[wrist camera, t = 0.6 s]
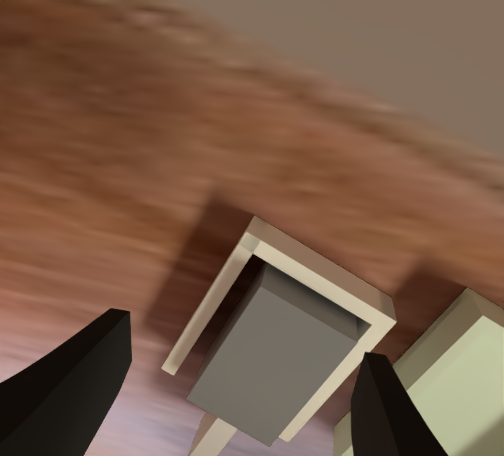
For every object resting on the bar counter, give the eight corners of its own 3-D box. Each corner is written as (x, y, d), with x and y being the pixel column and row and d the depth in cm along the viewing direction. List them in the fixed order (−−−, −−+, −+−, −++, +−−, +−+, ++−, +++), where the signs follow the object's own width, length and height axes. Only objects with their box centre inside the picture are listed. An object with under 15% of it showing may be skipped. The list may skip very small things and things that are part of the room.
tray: (455, 498, 26) (466, 540, 24) (333, 427, 26) (333, 463, 24) (613, 376, 22) (646, 414, 19) (467, 287, 21) (482, 315, 19)
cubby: (291, 412, 26) (288, 442, 24) (174, 344, 26) (161, 368, 24) (391, 297, 22) (396, 321, 20) (254, 214, 22) (246, 231, 20)
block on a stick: (248, 431, 28) (234, 488, 24) (180, 392, 28) (156, 444, 24) (354, 296, 23) (358, 342, 19) (272, 248, 23) (260, 286, 19)
